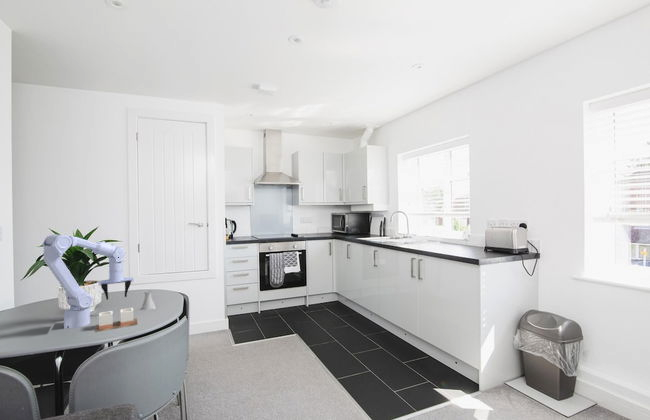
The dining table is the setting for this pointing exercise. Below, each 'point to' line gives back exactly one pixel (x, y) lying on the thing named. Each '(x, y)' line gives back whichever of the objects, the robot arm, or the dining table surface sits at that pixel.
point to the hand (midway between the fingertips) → (116, 297)
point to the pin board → (116, 325)
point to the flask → (148, 301)
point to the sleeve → (127, 316)
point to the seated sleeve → (105, 320)
